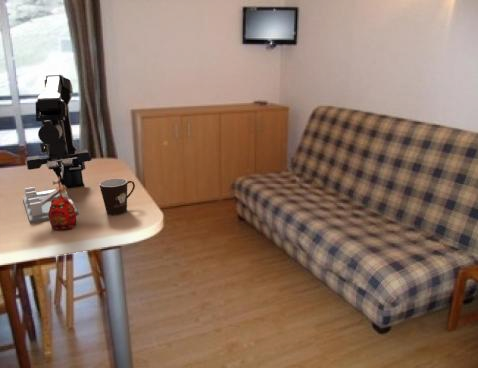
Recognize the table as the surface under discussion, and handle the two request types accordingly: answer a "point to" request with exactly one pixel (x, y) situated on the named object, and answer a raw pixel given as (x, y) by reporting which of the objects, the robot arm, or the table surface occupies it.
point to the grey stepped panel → (35, 208)
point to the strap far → (47, 193)
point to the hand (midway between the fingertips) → (63, 184)
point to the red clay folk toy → (61, 212)
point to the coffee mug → (115, 195)
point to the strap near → (52, 195)
